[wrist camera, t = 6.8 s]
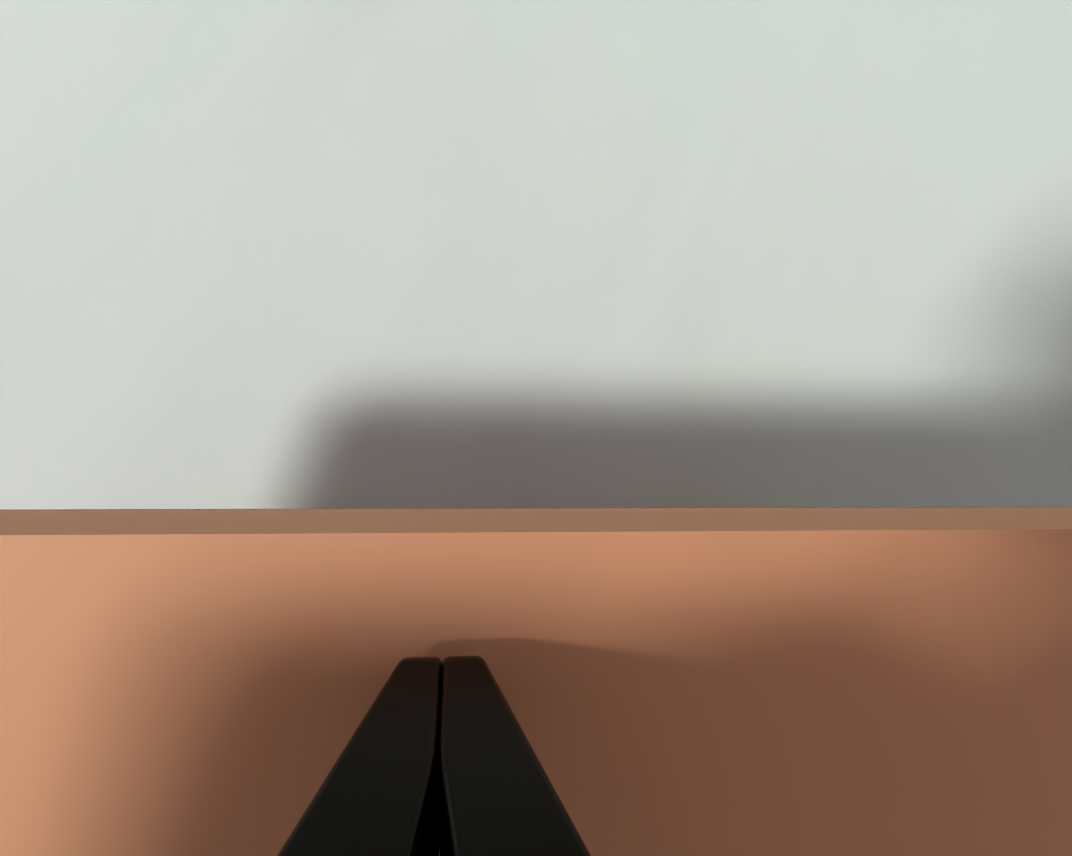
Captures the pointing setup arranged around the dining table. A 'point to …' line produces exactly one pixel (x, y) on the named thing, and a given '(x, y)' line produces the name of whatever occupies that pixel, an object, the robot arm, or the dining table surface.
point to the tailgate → (548, 671)
